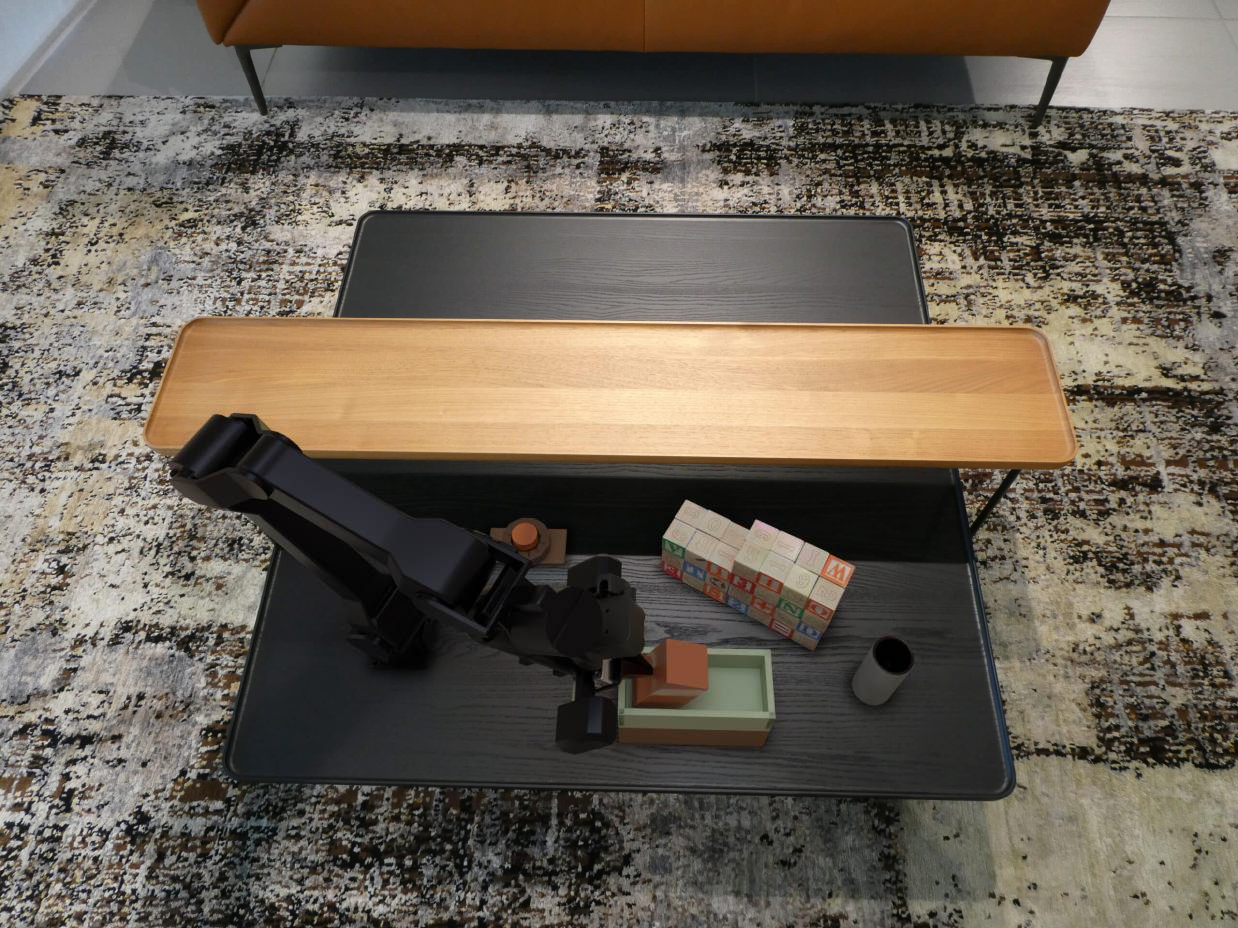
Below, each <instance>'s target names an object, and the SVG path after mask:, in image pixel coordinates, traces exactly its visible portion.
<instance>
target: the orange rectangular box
mask: <svg viewBox="0 0 1238 928" xmlns="http://www.w3.org/2000/svg"><path fill="white" fill-rule="evenodd" d="M655 647H656V648H654V649H653V650H652V651H651V652H650V653H648V654H647V655H646V656H645V657H644V658H645V659H646V660H647V661H648V662H649V663H650V665H651V666H652V667H653V675H652V676H649V677H643V678H635V679H633V683H632V708H637V709H679V708H681V707H682V706H684V705H685V704H687V703H689V702H690V701H692V700H693V699H695V698H696V697H698V696H699V695H701V694H702V693H704V692H705V691H707V690H708V689H709V685H708V653H707V648H708V645H705V644H700V643H695V642H689V641H684V640H677V639H673V638H665V639H664V640H663V641H662V642H660V643H659V644H658V645H656V646H655Z"/></svg>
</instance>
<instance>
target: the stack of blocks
mask: <svg viewBox="0 0 1238 928" xmlns="http://www.w3.org/2000/svg"><path fill="white" fill-rule="evenodd" d="M661 542H662V543H661V549H662V550H661V565H660V570H661V571H662V572H664V573H666V574H668V575H670V576H672V577H674V578H676V579H678V580H680V581H681V582H682V583H684V584H686V585H687V586H689V587H692V588H693V589H695V590H697V591H699V592H702V593H703V594H705V595H706V596H709V597H710V598H712V599H714V600H715V601H718V602H720V603H721V604H725V605H727V606H728V607H730V608H732V609H734V610H736V611H738V612H740V613H742V614H744V615H746V616H748V617H750V618H752V619H753V620H755V621H757V622H759V623H761V624H763V625H765V626H767V627H768V628H769V629H771V630H773V631H775V632H777V633H778V634H780V635H781V636H784V637H786V638H788V639H789V640H792V641H793V642H795V643H797V644H798V645H800V646H802V647H804V648H806V649H808V650H810V651H812V652H814V651H815V649H816V648H817V646H818V644H819V642H820V640H821V638H822V636H823V635H824V633H825V632H826V630H827V628H828V627H829V626H830V625H829V624H830V622H831V621H832V618H833V616H834V614H835V612H836V610H837V608H838V606H839V603H840V601H841V599H842V597H843V595H844V593H845V591H846V589H847V586H848V584H849V582H850V580H851V578H852V575H853V574H854V571H855V569H856V566H855V565H853V564H851V563H849V562H847V561H845V560H843V559H841V558H839V557H836V556H834V555H832V554H830V553H829V552H828V551H826V550H824V549H821V548H819V547H817V546H815V545H813V544H811V543H808V542H805V541H804V540H802V539H801V538H799V537H796V536H794V535H791V534H789V533H787V532H785V531H783V530H779V529H778V528H776V527H774V526H772V525H769V524H767V523H765V522H763V521H761V520H758V519H755V520H754V522H753V524H752V526H751V527H750V529H748V528H746V527H745V526H742V525H740V524H738V523H735V522H734V521H731V520H730V519H729V518H727V517H725V516H722V515H721V514H718V513H716V512H714V511H712V510H710V509H706V508H705V507H702V506H701V505H699V504H696V503H695V502H692V501H690V500H688V499H685V500H684V502H683V504H682V505H681V506H680V509H679V510H678V512H677V513H676V515H675V517H674V519H673V520H672V522H671V523H670V525H668V527H667V530H666V531H665V533H664V534H663V536H662V539H661Z"/></svg>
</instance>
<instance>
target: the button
mask: <svg viewBox="0 0 1238 928" xmlns="http://www.w3.org/2000/svg"><path fill="white" fill-rule="evenodd" d="M512 538H513V542H514V545H515V547H516V548H518V549H519V550H521V551H529V550H532V549H533V548H535V547H536V545H537V543H538V534H537V530H536V528H535V527H534V526H533V525H532V524H529V523H522V524H519V525H517V526H516V527H515V528H514V529H513V532H512Z"/></svg>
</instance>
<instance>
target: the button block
mask: <svg viewBox="0 0 1238 928" xmlns="http://www.w3.org/2000/svg"><path fill="white" fill-rule="evenodd" d="M522 523H529V524H532V525H533V526H534V527H535V528H536V530H537V534H538V543H537V545H536V547H535V548H533V549H532V550H529V551H521V550H519V549H518V551H519V554H520V555H521V556H523V557H525V558H527V559H529V560H531V561H532V562H533V564H532V566H531V567H534V566H560V567H561V566H563V567H564V566H566V554H567V553H566V552H567V538H568V530H567V529H566V528H565V529H564V528H547V526H546V524H545V523H543V522H542V521H540V520H538V519H537V518H535V517H521V518H519V519H516V520H514V521H512V522H510V523H509V524H508V525H507V527H490V534H489V536H491V537H493V538H495V539H498V540H500V541H502V542H505V543H507V544H509V545H512V546H514V547H515V545H514V542H513V538H512V532H513V529H514V528H515V527H516V526H517V525H519V524H522ZM496 562H497V565H504V564H503V563H500V562H498V561H496Z"/></svg>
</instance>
